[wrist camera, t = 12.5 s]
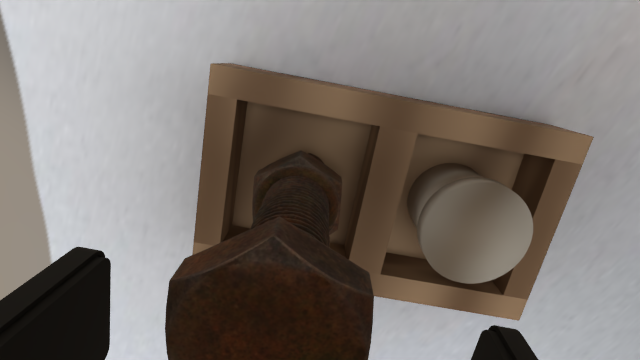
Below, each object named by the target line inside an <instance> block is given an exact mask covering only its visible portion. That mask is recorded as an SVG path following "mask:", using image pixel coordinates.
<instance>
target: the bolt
mask: <svg viewBox="0 0 640 360" xmlns="http://www.w3.org/2000/svg"><path fill="white" fill-rule="evenodd" d="M341 196H342V178H341V176H340V175H338V174H337V173H336V172H334V171H333V170H332V169H331V168H329V167H328V166H326V165H325V164H324V162H323V161H322V160H321V159H320V158H319V157H317V156H316V155H314V154H312V153H308V154H307V153H305V152H303V151H298V152H295V153H293V154H290V155H288V156H286V157H283V158H281V159H279V160H277V161H275V162H273V163H271V164H269V165H267V166H265V167H264V168H262V169H260V170H258V172H257V173H256V175H255V176H254V185H253V200H252V216H253V224H252V226H251V229H250V230H248V231H246V232H244V233H241V234H239V235H237V236H235V237H232V238H230V239H228V240H226V241H223V242H221V243H219V244H217V245H214V246H212V247H210V248H208V249H205V250H203V251H201V252H199V253H196V254H194V255H192V256H190V257H187V258H185V259H184V261H183V262H182V264H181V265H180V267H179V268H178V269H177V271H176V272H175V274H174V275H173V277H172V278H171V279H170V281H169V289H168V298H167V306H166V323H165V333H166V346H167V355H168V360H368V356H369V350H370V344H371V334H372V323H373V302H374V295H373V289H372V284H371V279H370V274H369V272H368V271H366V270H364V269H363V268H361V267H360V266H358V265H356V264H355V263H353V262H352V261H350V260H348V259H347V258H345V257H344V256H342V255H340V254H339V253H337V252H336V251H334V250H332V249H331V248H329V247H330V245H329V244H330V236H329V235H331V234H332V233H334V232H335V231H337V230H338V225H339V217H340V207H341Z"/></svg>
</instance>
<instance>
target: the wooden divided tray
mask: <svg viewBox="0 0 640 360" xmlns="http://www.w3.org/2000/svg"><path fill="white" fill-rule="evenodd" d="M592 140H593V137H592V136H588V135H585V134H581V133H577V132H574V131H570V130H567V129H563V128H560V127H556V126H552V125H548V124H543V123H538V122H533V121H527V120H522V119H517V118H512V117H506V116H501V115H496V114H491V113H486V112H480V111H475V110H470V109H465V108H460V107H454V106H449V105H444V104H439V103H434V102H428V101H423V100H418V99H413V98H408V97H402V96H397V95H392V94H387V93H382V92H376V91H371V90H366V89H361V88H356V87H350V86H345V85H340V84H335V83H329V82H324V81H319V80H314V79H309V78H303V77H298V76H293V75H288V74H283V73H277V72H272V71H267V70H262V69H257V68H251V67H246V66H241V65H236V64H231V63H221V64H211V65H210V76H209V87H208V97H207V108H206V118H205V129H204V139H203V150H202V161H201V171H200V182H199V192H198V203H197V213H196V224H195V235H194V245H193V255H194V254H196V253H199V252H201V251H203V250H205V249H208V248H210V247H212V246H214V245H217V244H219V243H221V242H223V241H226V240H228V239H230V238H232V237H235V236H237V235H239V234H241V233H244V232H246V231H248V230H250V229H251V226H252V224H253V216H252V200H253V185H254V176H255V175H256V173H257V172H258V170H260V169H262V168H264V167H265V166H267V165H269V164H271V163H273V162H275V161H277V160H279V159H281V158H283V157H286V156H288V155H290V154H293V153H295V152H298V151H303V152H305V153H307V154H308V153H312V154H314V155H316V156H317V157H319V158H320V159H321V160H322V161H323V162H324V164H325V165H326V166H328V167H329V168H331V169H332V170H333V171H334V172H336V173H337V174H338V175H340V176H341V178H342V196H341V207H340V217H339V225H338V230H337V231H335V232H334V233H332V234H331V235H329V236H330V244H329V245H330V247H329V248H331V249H332V250H334V251H336V252H337V253H339V254H340V255H342V256H344V257H345V258H347V259H348V260H350V261H352V262H353V263H355V264H356V265H358V266H360V267H361V268H363V269H364V270H366V271H368V272H369V274H370V279H371V284H372V289H373V295H374V296H378V297H383V298H389V299H395V300H401V301H407V302H413V303H419V304H425V305H431V306H436V307H442V308H448V309H454V310H460V311H466V312H472V313H478V314H484V315H489V316H495V317H501V318H507V319H513V320H519V319H520V317H521V315H522V312H523V310H524V307H525V305H526V302H527V300H528V297H529V295H530V292H531V290H532V287H533V285H534V283H535V280H536V278H537V275H538V273H539V270H540V268H541V265H542V263H543V260H544V258H545V255H546V253H547V251H548V248H549V246H550V243H551V241H552V238H553V236H554V233H555V231H556V228H557V226H558V223H559V221H560V219H561V216H562V214H563V211H564V209H565V206H566V204H567V201H568V199H569V196H570V194H571V191H572V189H573V187H574V184H575V182H576V179H577V177H578V174H579V172H580V169H581V167H582V164H583V162H584V159H585V157H586V155H587V152H588V150H589V147H590V145H591V142H592Z"/></svg>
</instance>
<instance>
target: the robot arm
mask: <svg viewBox="0 0 640 360" xmlns="http://www.w3.org/2000/svg"><path fill="white" fill-rule="evenodd" d="M110 270H111V264H110V260H109V259H108V258H105V255H104V253H103V252H102V251H99V250H94V249H88V248H83V247H76V248H74V249H72V250H71V251H69V252H68V253H66V254H65V255H64V256H62V257H61V258H59V259H58V260H57V261H55V262H54V263H52V264H51V265H50V266H48V267H47V268H45V269H44V270H43V271H41V272H40V273H39V274H37V275H36V276H34V277H33V278H31V279H30V280H28V281H27V282H26V283H24V284H23V285H21V286H20V287H19V288H17V289H16V290H14V291H13V292H12V293H10V294H9V295H8V296H6V297H5V298H3V299H2V300H0V360H105V358H106V356H107V353H108V350H109V345H110ZM471 360H538V359H537V357H536V356H535V354H534V353H533V351H532V349H531V348H530V346H529V345H528V343H527V342H526V340H525V339H524V337H523V336H522V334H521V333H520V332H519V331H518V330H516V329H511V328H506V327H500V326H495V325H494V326H491V327H490V328H489V330H484V331H483V332H482V333H481V335H480V338H479V340H478V343H477V346H476V348H475V351H474V353H473V356H472V358H471Z"/></svg>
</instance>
